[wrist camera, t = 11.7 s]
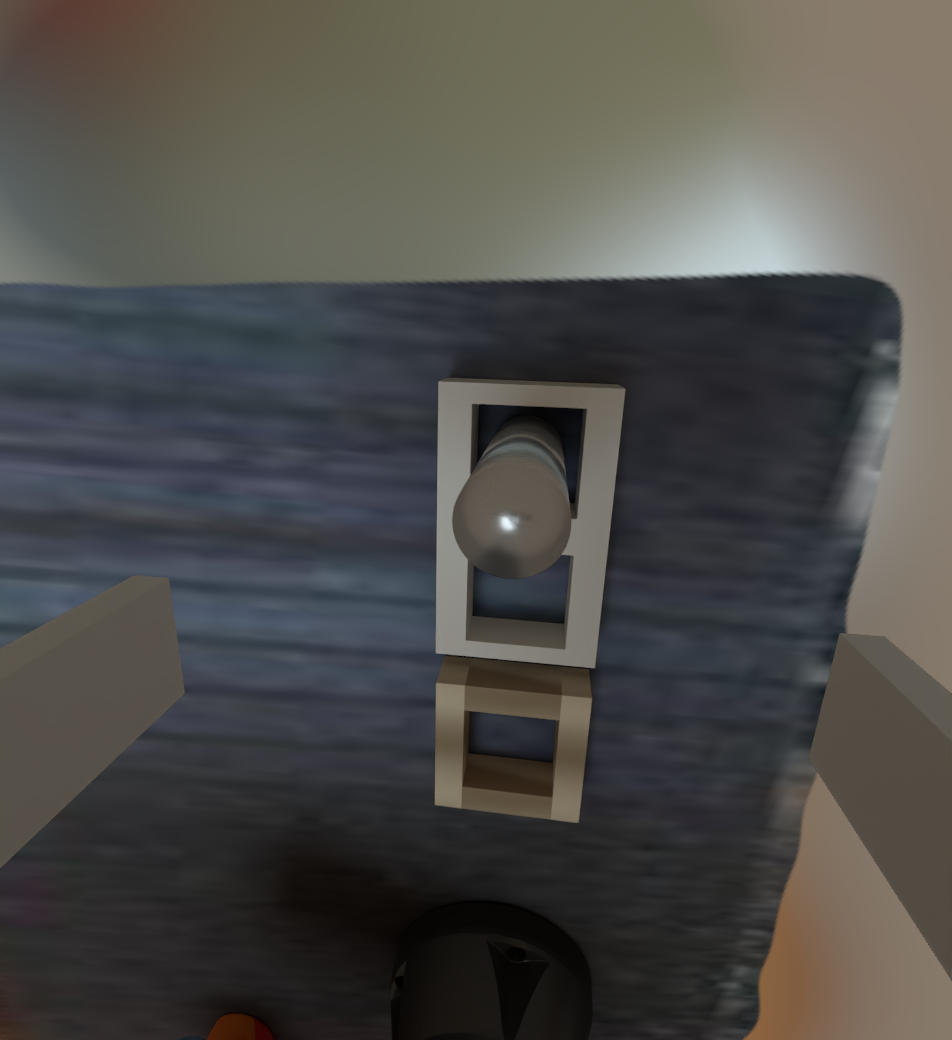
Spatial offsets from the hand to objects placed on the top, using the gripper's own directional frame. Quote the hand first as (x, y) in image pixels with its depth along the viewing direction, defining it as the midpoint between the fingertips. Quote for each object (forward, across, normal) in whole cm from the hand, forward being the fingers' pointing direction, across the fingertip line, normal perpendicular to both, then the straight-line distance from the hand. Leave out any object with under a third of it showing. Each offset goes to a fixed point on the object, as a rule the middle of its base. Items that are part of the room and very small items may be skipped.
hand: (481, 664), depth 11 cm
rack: (+21, 0, +3) cm, 21 cm away
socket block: (+21, 0, +17) cm, 27 cm away
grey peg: (+21, 0, -1) cm, 21 cm away
